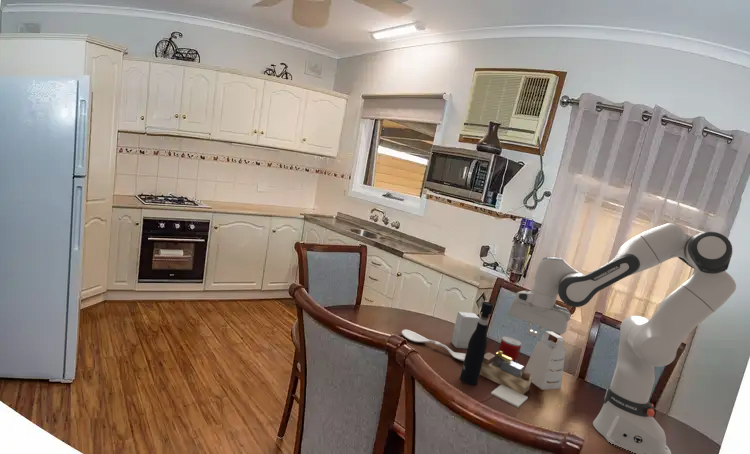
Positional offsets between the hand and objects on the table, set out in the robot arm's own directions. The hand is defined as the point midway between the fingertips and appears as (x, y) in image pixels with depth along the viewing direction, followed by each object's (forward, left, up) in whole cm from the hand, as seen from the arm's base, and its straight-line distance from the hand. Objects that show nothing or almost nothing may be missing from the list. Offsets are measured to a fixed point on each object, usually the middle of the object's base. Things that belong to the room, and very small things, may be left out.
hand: (532, 335), depth 158 cm
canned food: (+11, -16, -21) cm, 29 cm away
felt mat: (0, +9, -21) cm, 23 cm away
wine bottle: (+15, +12, -21) cm, 29 cm away
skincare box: (+31, -15, -21) cm, 41 cm away
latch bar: (+8, 0, -12) cm, 15 cm away
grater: (-4, -16, -21) cm, 27 cm away
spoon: (+36, 0, -22) cm, 42 cm away
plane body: (+6, 0, -21) cm, 22 cm away
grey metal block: (+4, 0, -16) cm, 17 cm away
